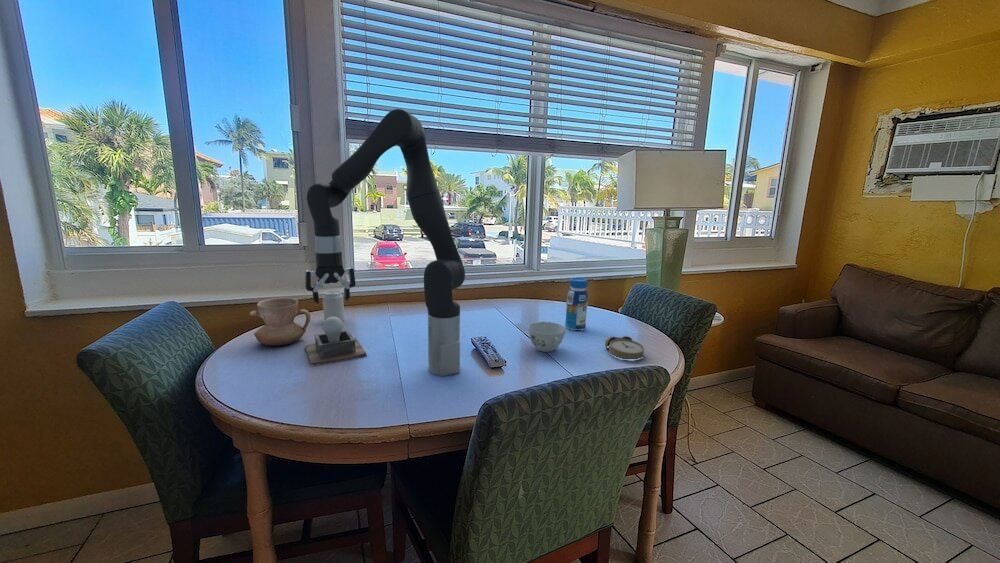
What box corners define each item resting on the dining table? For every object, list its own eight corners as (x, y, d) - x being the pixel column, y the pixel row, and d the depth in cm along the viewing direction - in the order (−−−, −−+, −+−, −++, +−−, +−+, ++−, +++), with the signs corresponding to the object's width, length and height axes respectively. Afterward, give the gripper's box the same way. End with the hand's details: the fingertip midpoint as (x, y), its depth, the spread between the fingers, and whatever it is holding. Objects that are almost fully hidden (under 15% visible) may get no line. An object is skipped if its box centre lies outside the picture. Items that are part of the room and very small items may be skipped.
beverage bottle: (564, 323, 166) (567, 276, 162) (585, 325, 165) (588, 277, 160) (564, 330, 158) (568, 280, 153) (586, 332, 156) (590, 282, 152)
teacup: (521, 344, 142) (522, 322, 140) (553, 341, 146) (554, 320, 144) (539, 360, 128) (540, 337, 126) (574, 356, 132) (575, 333, 130)
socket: (366, 356, 127) (365, 341, 126) (311, 366, 119) (310, 350, 118) (355, 340, 141) (355, 326, 140) (305, 348, 132) (304, 333, 131)
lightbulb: (347, 346, 132) (346, 314, 130) (339, 353, 126) (337, 320, 124) (329, 345, 133) (327, 313, 130) (320, 352, 127) (318, 319, 124)
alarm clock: (619, 354, 128) (600, 331, 141) (617, 367, 129) (597, 343, 143) (651, 353, 130) (629, 330, 143) (648, 365, 132) (626, 342, 145)
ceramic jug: (246, 351, 128) (243, 309, 125) (258, 335, 142) (255, 297, 139) (308, 347, 134) (306, 306, 131) (313, 333, 147) (312, 295, 144)
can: (320, 323, 158) (318, 293, 155) (331, 317, 165) (329, 289, 162) (337, 324, 157) (336, 294, 154) (348, 319, 164) (346, 290, 161)
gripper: (304, 253, 116) (308, 307, 119) (355, 250, 123) (358, 301, 127) (301, 250, 122) (306, 301, 126) (350, 248, 130) (353, 296, 133)
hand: (332, 301), depth 126 cm, fingers open, 8 cm apart
